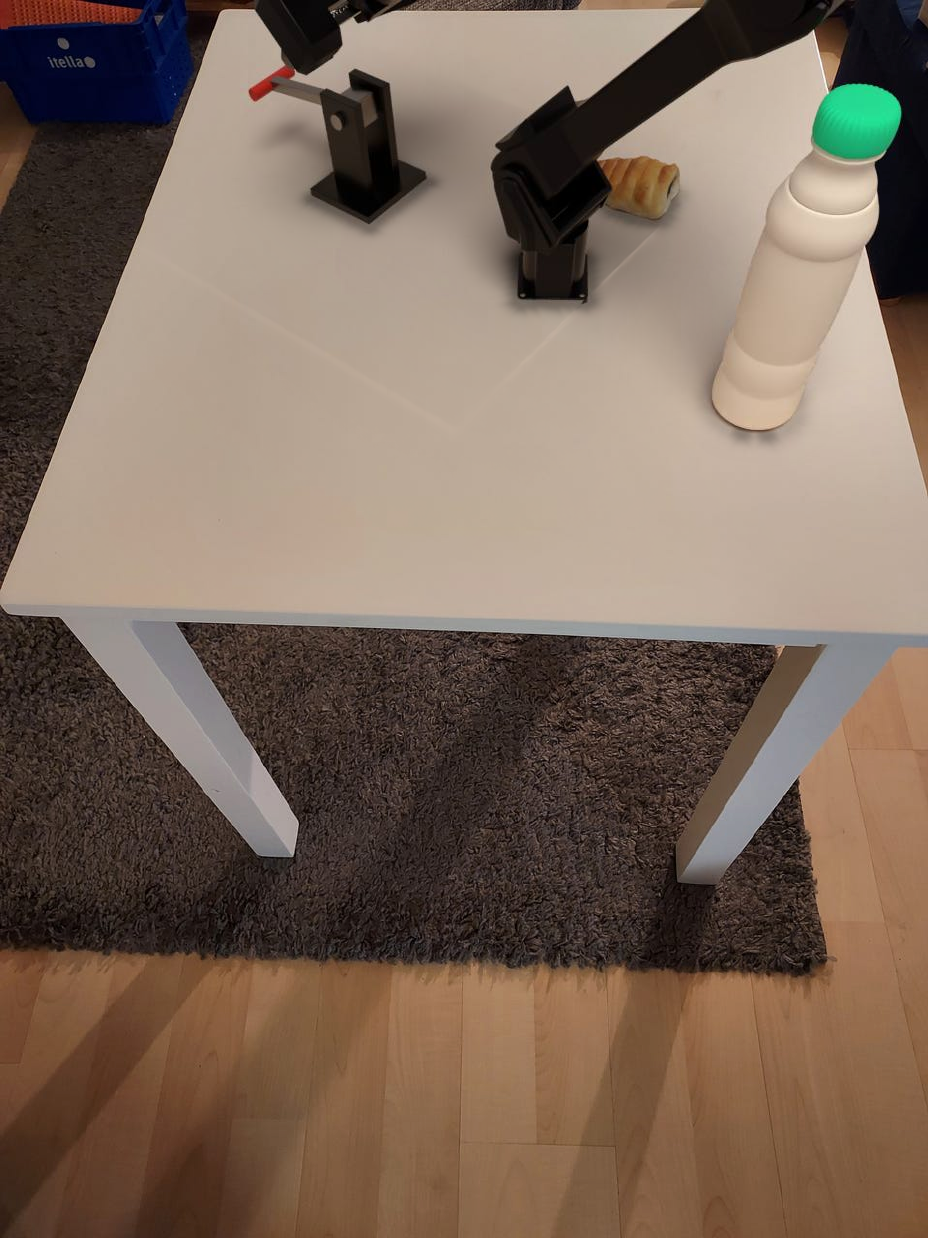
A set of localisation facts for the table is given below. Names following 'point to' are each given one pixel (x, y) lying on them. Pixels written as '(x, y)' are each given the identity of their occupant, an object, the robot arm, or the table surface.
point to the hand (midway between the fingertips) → (321, 39)
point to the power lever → (311, 92)
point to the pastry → (641, 185)
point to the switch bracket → (363, 153)
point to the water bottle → (806, 259)
